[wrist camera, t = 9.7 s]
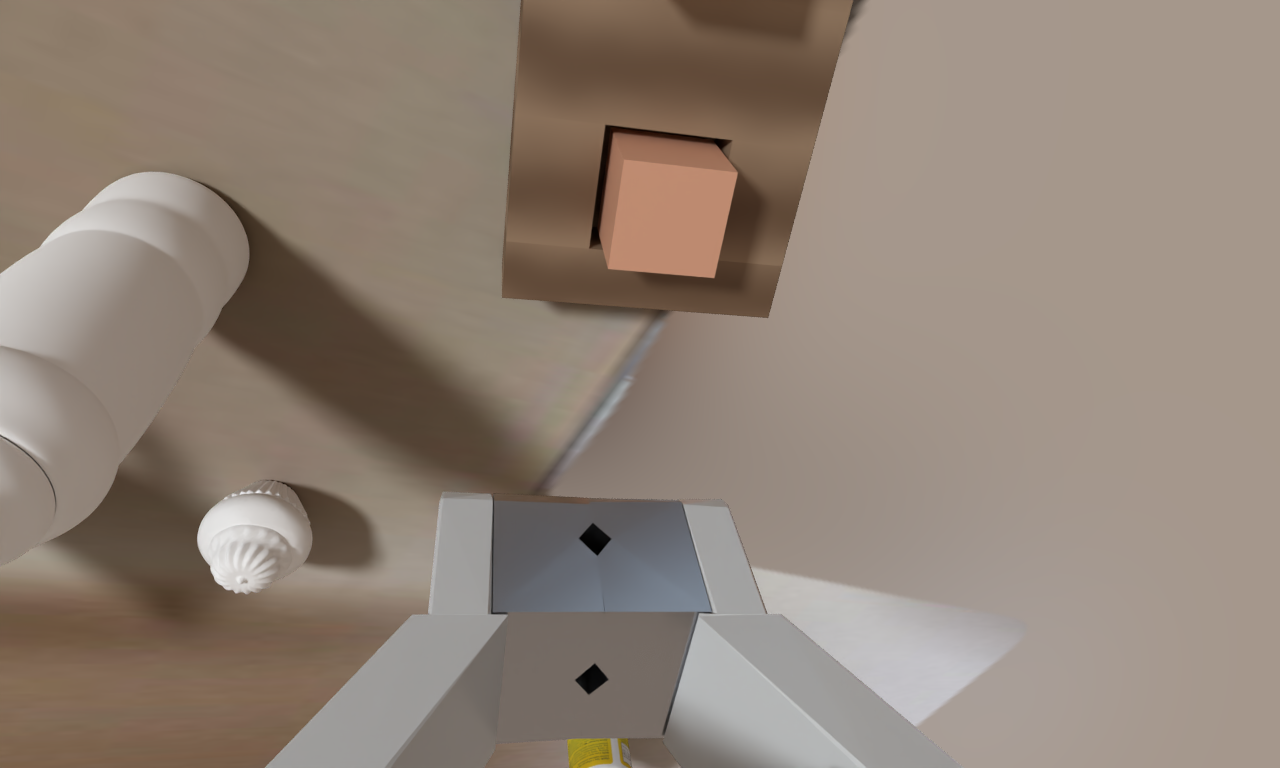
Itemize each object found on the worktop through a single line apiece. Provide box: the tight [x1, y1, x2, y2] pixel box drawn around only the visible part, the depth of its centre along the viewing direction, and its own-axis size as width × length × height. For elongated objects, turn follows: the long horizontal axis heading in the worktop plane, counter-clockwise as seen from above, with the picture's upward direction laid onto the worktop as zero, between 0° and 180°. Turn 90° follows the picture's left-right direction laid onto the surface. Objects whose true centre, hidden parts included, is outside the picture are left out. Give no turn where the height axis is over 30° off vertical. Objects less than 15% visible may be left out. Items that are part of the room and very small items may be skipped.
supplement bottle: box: [567, 738, 632, 768], centre depth 62 cm, size 5×5×8 cm
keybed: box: [502, 0, 853, 318], centre depth 37 cm, size 24×14×4 cm, turn 171°
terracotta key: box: [597, 127, 738, 278], centre depth 37 cm, size 5×5×5 cm
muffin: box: [197, 480, 313, 594], centre depth 46 cm, size 6×6×7 cm
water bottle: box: [0, 172, 249, 566], centre depth 29 cm, size 7×7×25 cm
